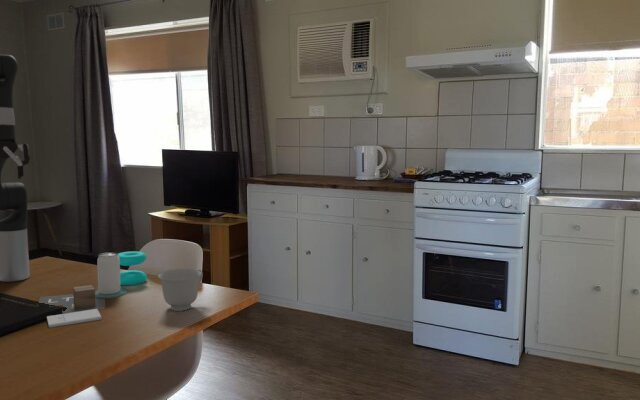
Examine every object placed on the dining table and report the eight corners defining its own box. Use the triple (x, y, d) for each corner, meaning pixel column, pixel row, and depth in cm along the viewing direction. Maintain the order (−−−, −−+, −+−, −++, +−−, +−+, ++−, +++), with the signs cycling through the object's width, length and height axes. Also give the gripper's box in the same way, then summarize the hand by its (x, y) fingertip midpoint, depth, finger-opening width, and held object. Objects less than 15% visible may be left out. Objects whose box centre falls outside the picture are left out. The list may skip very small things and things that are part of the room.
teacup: (217, 303, 152) (217, 269, 151) (182, 317, 139) (181, 281, 138) (186, 297, 158) (186, 265, 157) (149, 310, 145) (148, 275, 144)
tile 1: (40, 297, 156) (40, 297, 156) (80, 293, 161) (80, 293, 161) (36, 308, 146) (36, 307, 146) (79, 303, 150) (79, 303, 150)
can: (124, 289, 164) (123, 252, 162) (114, 295, 157) (113, 256, 156) (104, 288, 164) (103, 251, 163) (94, 294, 158) (92, 256, 156)
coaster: (92, 291, 163) (92, 289, 163) (126, 288, 167) (126, 286, 167) (92, 300, 154) (92, 298, 154) (127, 296, 158) (127, 294, 158)
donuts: (115, 257, 167) (113, 251, 176) (116, 287, 168) (114, 280, 177) (148, 255, 171) (144, 249, 180) (148, 284, 172) (145, 277, 181)
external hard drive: (101, 322, 137) (48, 330, 130) (97, 313, 144) (46, 321, 137) (101, 316, 137) (48, 324, 130) (96, 308, 144) (46, 315, 137)
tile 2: (64, 302, 152) (64, 301, 152) (105, 298, 156) (104, 297, 156) (62, 313, 142) (62, 313, 142) (105, 309, 146) (105, 308, 146)
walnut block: (73, 304, 149) (73, 287, 149) (92, 301, 152) (91, 284, 152) (76, 308, 145) (75, 291, 145) (95, 305, 148) (94, 288, 148)
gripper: (29, 124, 157) (32, 177, 159) (-26, 123, 151) (-23, 178, 153) (26, 123, 150) (29, 179, 152) (-32, 122, 144) (-29, 180, 146)
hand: (3, 178), depth 152 cm, fingers open, 8 cm apart
